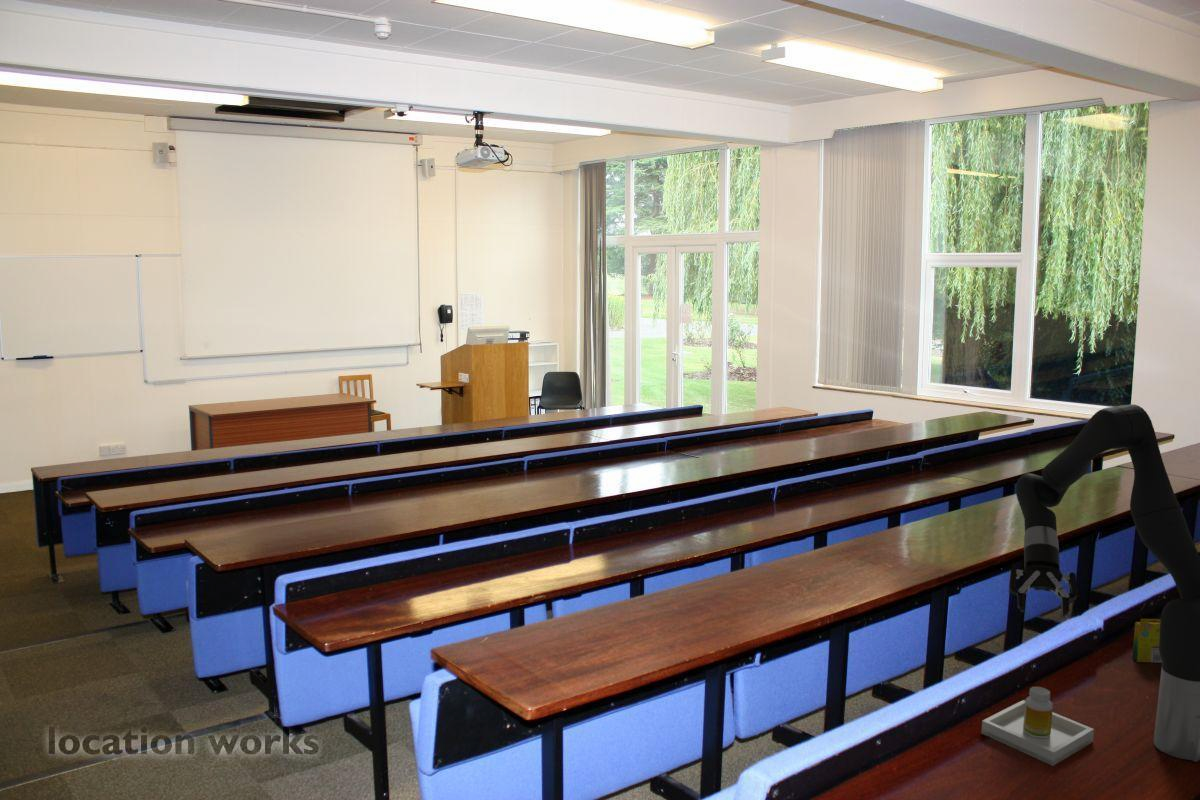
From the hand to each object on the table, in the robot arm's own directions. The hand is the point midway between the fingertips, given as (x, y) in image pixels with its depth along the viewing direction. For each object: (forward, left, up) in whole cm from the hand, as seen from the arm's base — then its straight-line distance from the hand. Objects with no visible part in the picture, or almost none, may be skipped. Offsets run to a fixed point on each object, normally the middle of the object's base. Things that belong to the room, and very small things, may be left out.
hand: (1043, 613), depth 216 cm
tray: (-9, +15, -22) cm, 28 cm away
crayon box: (-5, -45, -22) cm, 50 cm away
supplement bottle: (-9, +15, -21) cm, 27 cm away
